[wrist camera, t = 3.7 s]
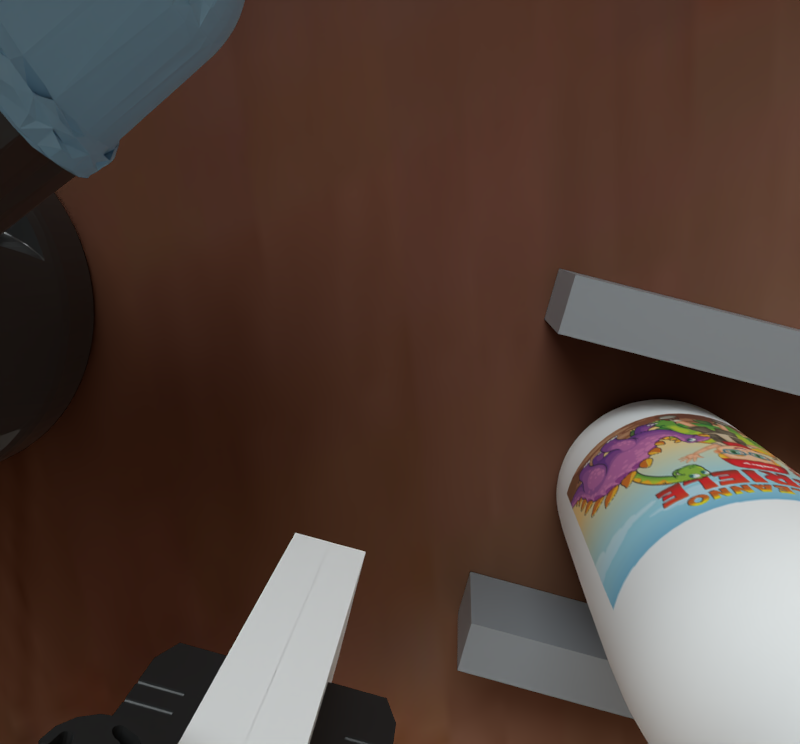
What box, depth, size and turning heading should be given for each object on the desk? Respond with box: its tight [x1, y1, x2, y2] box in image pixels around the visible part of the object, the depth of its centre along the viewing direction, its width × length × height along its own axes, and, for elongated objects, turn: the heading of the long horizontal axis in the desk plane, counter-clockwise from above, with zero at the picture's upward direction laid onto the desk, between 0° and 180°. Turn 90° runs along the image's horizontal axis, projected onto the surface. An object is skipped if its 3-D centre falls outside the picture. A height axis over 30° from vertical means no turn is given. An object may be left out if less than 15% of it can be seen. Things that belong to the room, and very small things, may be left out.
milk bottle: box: [556, 399, 800, 744], centre depth 19 cm, size 8×8×20 cm
